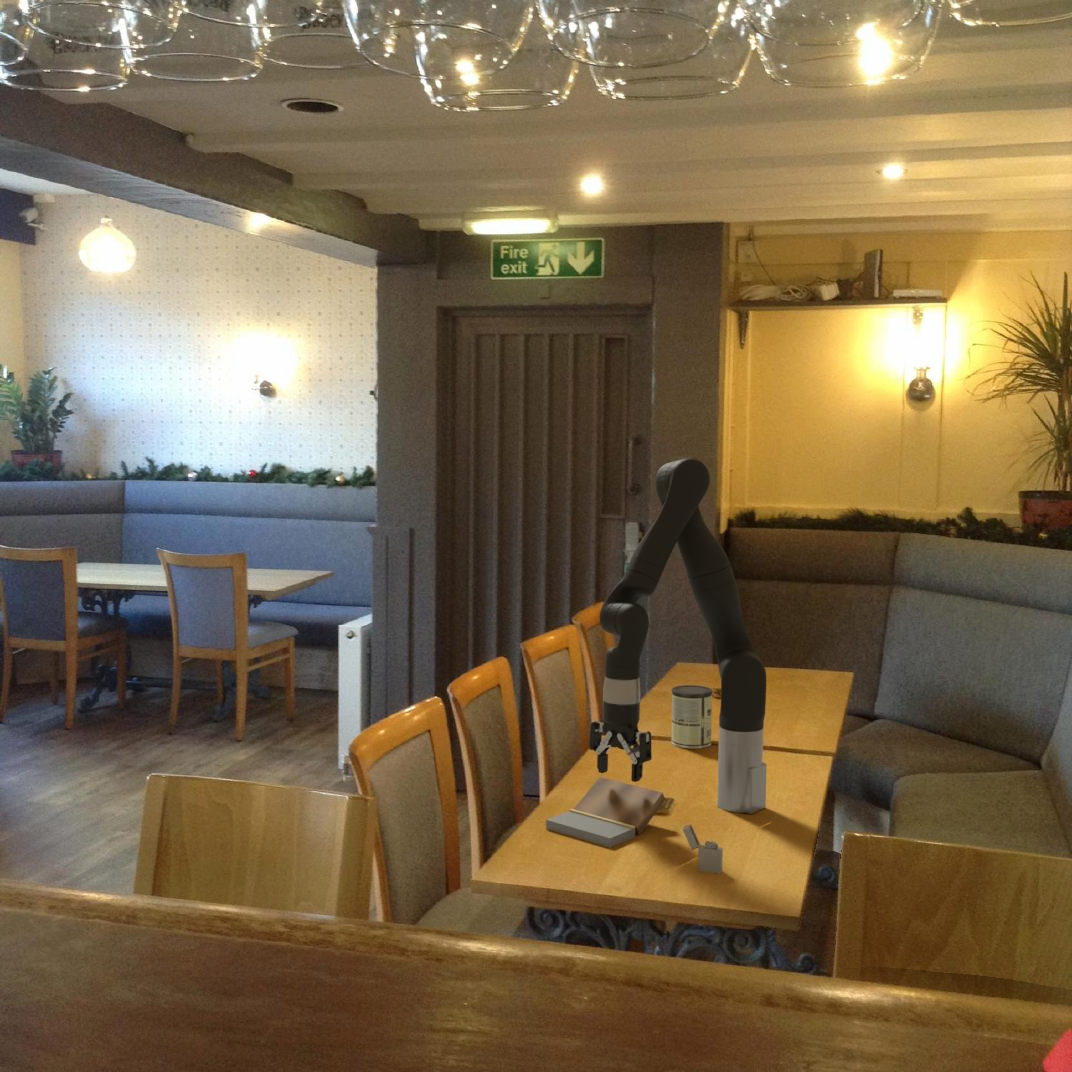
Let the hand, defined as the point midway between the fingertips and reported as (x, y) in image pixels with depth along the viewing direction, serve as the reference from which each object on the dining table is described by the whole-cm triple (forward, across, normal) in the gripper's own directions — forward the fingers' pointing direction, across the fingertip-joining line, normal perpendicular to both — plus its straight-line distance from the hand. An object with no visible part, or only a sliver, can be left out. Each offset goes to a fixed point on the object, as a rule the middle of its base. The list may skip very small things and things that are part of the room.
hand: (619, 776), depth 241 cm
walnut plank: (+6, -2, +2) cm, 6 cm away
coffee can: (+9, +22, -59) cm, 63 cm away
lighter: (+9, -29, +12) cm, 33 cm away
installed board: (+9, -2, +11) cm, 14 cm away
